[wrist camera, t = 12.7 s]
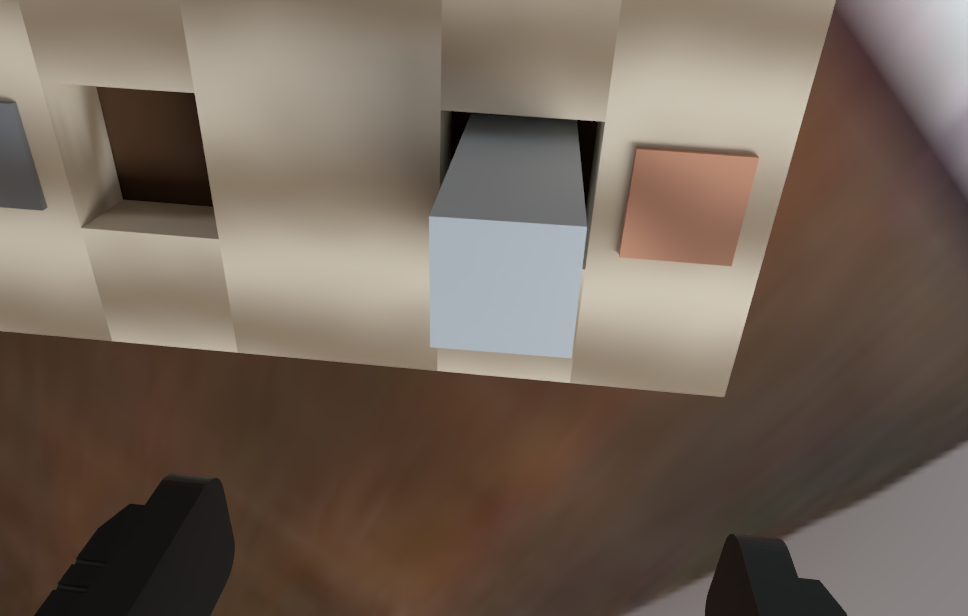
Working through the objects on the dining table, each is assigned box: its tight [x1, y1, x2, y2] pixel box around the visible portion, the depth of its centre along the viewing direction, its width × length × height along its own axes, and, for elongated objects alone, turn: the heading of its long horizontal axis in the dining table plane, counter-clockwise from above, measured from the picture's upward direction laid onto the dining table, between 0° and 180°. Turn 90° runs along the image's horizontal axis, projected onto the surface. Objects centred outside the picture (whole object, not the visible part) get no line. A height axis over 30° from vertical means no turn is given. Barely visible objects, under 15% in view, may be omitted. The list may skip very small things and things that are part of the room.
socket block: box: [0, 0, 836, 397], centre depth 26 cm, size 16×32×3 cm, turn 88°
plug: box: [429, 114, 587, 358], centre depth 23 cm, size 4×4×10 cm
